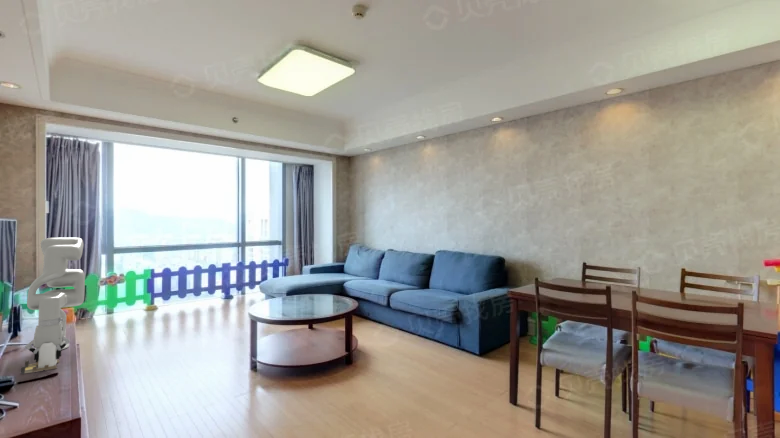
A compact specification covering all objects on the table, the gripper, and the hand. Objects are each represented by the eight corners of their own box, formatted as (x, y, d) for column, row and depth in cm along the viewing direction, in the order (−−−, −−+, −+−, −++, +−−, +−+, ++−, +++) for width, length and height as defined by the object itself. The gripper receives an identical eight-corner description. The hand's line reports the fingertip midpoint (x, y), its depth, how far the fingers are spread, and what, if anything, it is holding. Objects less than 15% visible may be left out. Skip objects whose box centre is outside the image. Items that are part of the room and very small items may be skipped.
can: (45, 369, 169) (46, 343, 170) (34, 367, 171) (35, 342, 171) (60, 364, 176) (61, 339, 176) (49, 362, 177) (50, 338, 177)
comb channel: (25, 367, 172) (25, 360, 172) (59, 362, 179) (59, 356, 179) (20, 374, 164) (20, 367, 164) (56, 368, 171) (56, 362, 171)
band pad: (26, 368, 171) (26, 367, 171) (36, 366, 173) (36, 365, 173) (23, 372, 166) (23, 372, 166) (33, 371, 168) (33, 370, 168)
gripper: (74, 318, 182) (72, 353, 181) (25, 322, 171) (24, 360, 171) (72, 321, 175) (70, 358, 175) (21, 326, 165) (20, 366, 165)
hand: (47, 359), depth 173 cm, fingers closed on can, 6 cm apart
